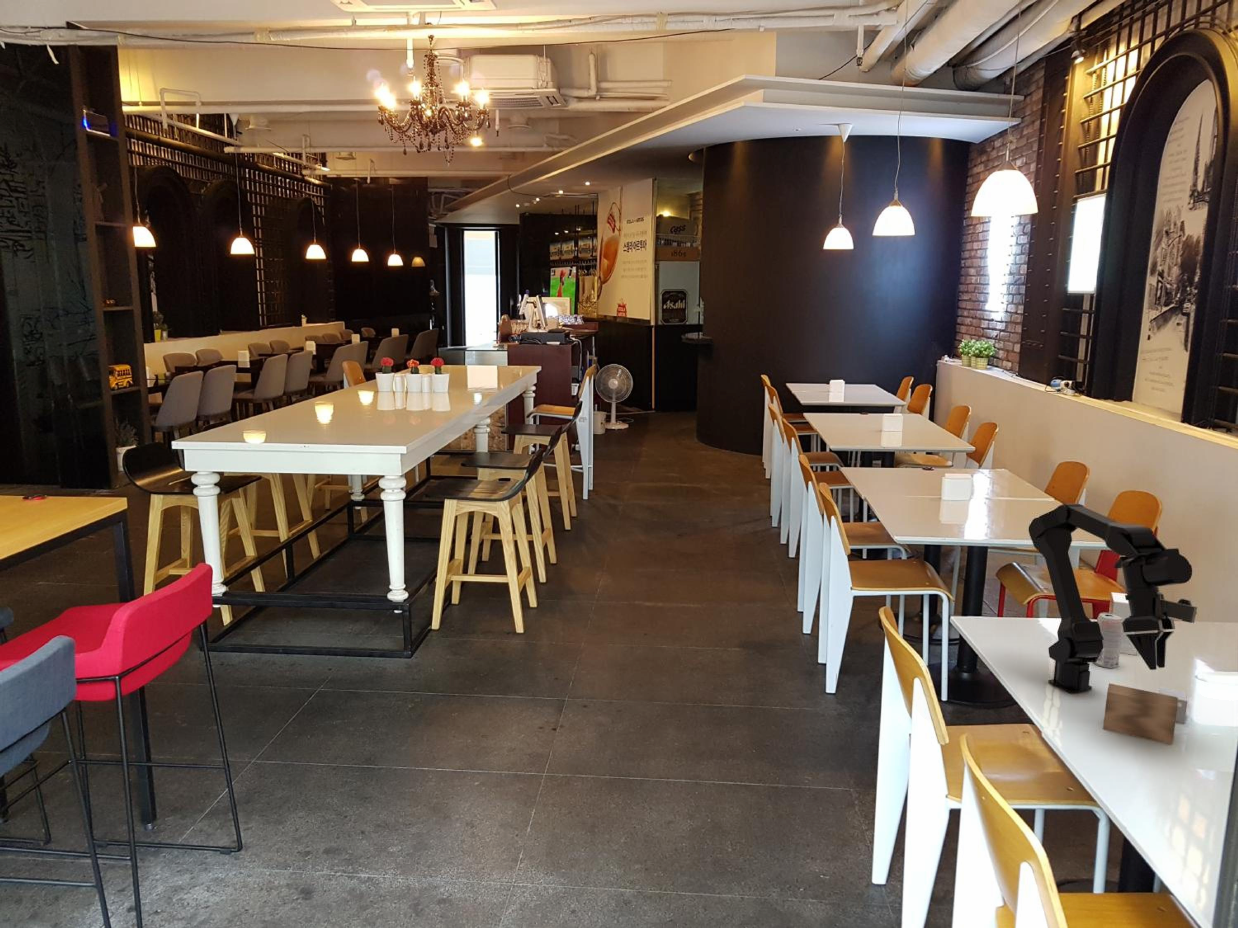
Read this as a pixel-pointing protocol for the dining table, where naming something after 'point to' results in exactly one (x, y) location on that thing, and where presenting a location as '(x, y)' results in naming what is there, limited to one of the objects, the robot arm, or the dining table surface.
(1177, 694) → the letter cube
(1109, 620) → the energy drink
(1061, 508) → the robot arm
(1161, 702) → the brown wooden block
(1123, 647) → the small box
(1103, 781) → the dining table surface
